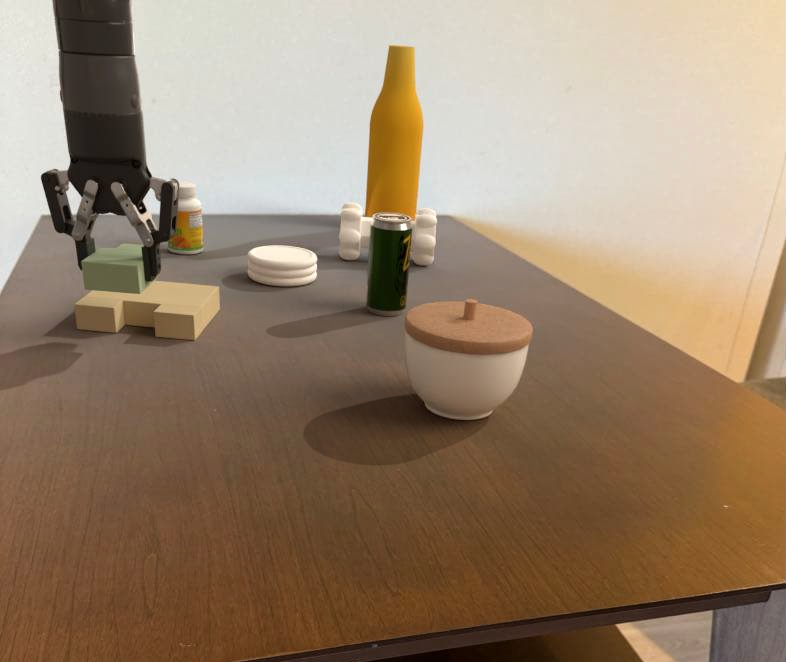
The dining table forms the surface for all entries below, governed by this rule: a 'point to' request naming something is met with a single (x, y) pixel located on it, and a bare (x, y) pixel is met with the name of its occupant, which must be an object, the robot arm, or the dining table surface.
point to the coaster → (282, 265)
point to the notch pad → (151, 309)
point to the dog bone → (358, 233)
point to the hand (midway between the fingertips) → (120, 276)
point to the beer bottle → (395, 139)
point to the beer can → (388, 263)
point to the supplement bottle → (188, 222)
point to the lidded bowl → (465, 356)
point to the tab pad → (115, 270)
